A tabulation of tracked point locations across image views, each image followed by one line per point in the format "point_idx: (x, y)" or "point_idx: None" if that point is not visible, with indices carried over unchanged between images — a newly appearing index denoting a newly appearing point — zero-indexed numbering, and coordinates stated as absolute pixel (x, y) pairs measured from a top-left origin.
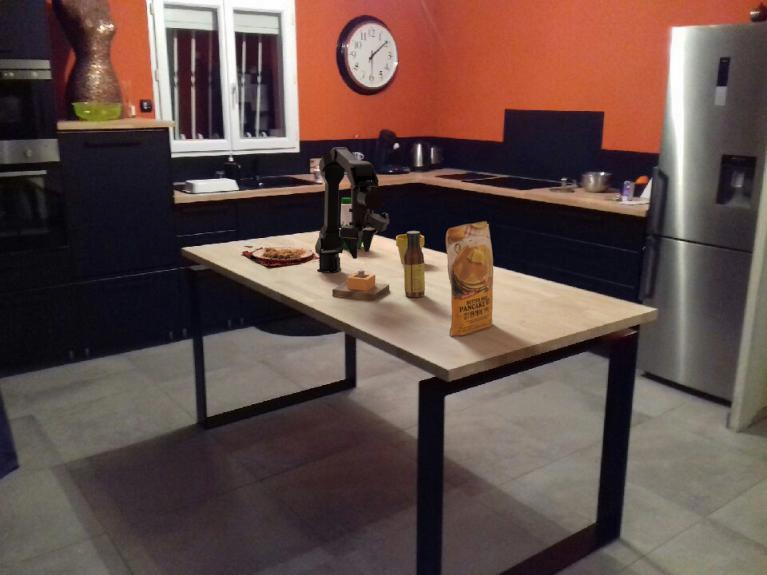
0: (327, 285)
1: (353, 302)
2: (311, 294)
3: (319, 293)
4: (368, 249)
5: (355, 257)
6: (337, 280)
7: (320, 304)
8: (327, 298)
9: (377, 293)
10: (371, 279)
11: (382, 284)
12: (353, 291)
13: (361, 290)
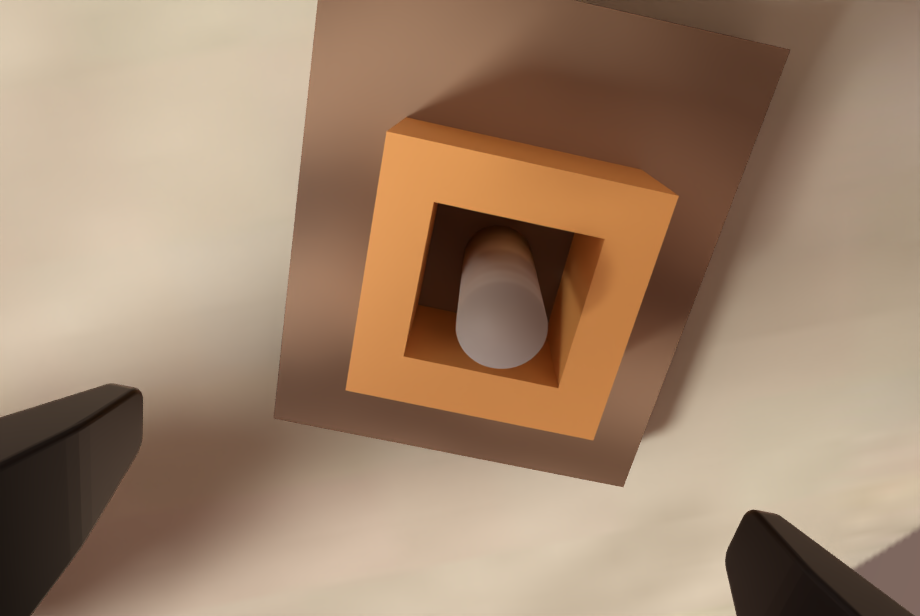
0: (321, 538)
1: (811, 248)
2: (592, 587)
3: (557, 546)
4: (104, 418)
5: (794, 539)
6: (152, 501)
7: (865, 483)
8: (692, 470)
9: (697, 30)
10: (521, 155)
11: (342, 36)
12: (678, 299)
13: None
